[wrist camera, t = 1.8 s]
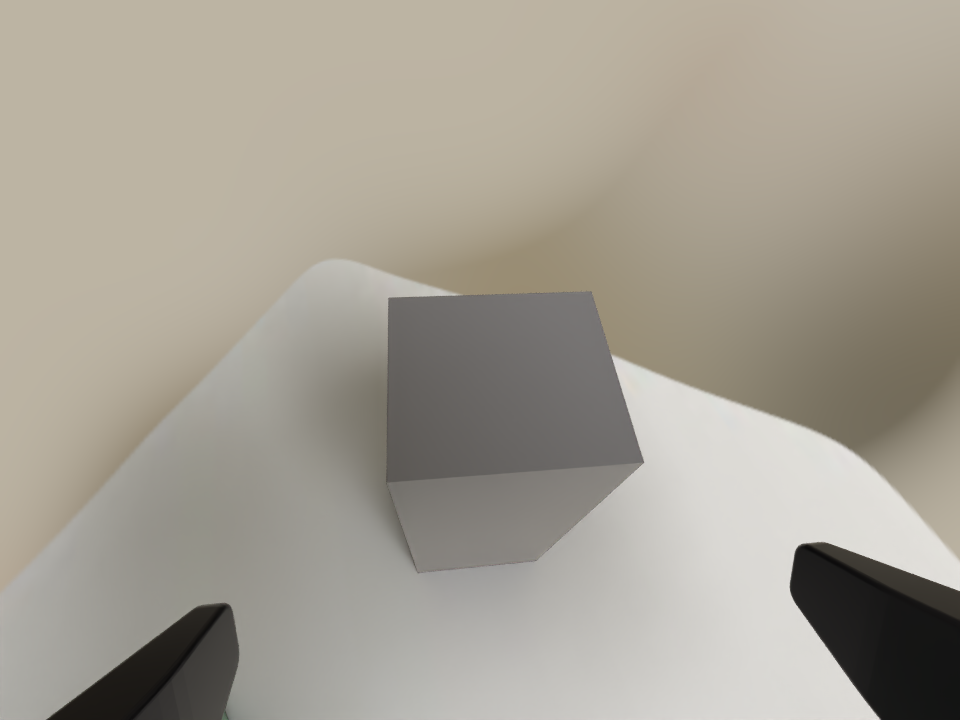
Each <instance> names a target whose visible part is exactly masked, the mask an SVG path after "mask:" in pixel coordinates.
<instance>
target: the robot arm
mask: <svg viewBox="0 0 960 720" xmlns="http://www.w3.org/2000/svg"><path fill="white" fill-rule="evenodd" d="M790 592H791V595H792V598H793V600H794V602H795V603H796V605H797V606H798V608H799V609H800V610H801V612H802V613H803V615H804V616H805V617H806V619H807V620H808V622H809V623H810V624H811V626H812V627H813V629H814V630H815V631H816V633H817V634H818V636H819V637H820V639H821V640H822V641H823V643H824V644H825V646H826V647H827V648H828V650H829V651H830V653H831V654H832V655H833V657H834V658H835V660H836V661H837V662H838V664H839V665H840V667H841V668H842V669H843V671H844V672H845V674H846V675H847V676H848V678H849V679H850V681H851V682H852V683H853V685H854V686H855V687H856V689H857V690H858V691H859V693H860V694H861V696H862V697H863V698H864V700H865V701H866V702H867V703H868V705H869V706H870V707H871V708H872V710H873V711H874V712H875V713H876V715H877V716H878V717H879V718H880V720H960V591H958V590H955V589H952V588H950V587H947V586H944V585H941V584H939V583H936V582H933V581H930V580H928V579H925V578H922V577H920V576H917V575H914V574H911V573H909V572H906V571H903V570H900V569H898V568H895V567H892V566H889V565H887V564H884V563H881V562H878V561H876V560H873V559H870V558H867V557H865V556H862V555H859V554H857V553H854V552H851V551H848V550H846V549H843V548H840V547H837V546H835V545H832V544H829V543H825V542H815V543H806V544H801V545H799V546H798V547H797V549H796V551H795V555H794V561H793V567H792V574H791V580H790ZM238 662H239V645H238V639H237V633H236V627H235V621H234V616H233V611H232V608H231V606H230V605H229V604H227V603H218V604H208V605H201V606H198V607H196V608H194V609H193V610H192V611H190V612H189V613H188V614H186V615H185V616H184V617H182V618H181V619H180V620H178V621H177V622H176V623H174V624H173V625H172V626H170V627H169V628H168V629H166V630H165V631H164V632H162V633H161V634H160V635H158V636H157V637H156V638H154V639H153V640H152V641H150V642H149V643H148V644H146V645H145V646H144V647H142V648H141V649H140V650H138V651H137V652H136V653H134V654H133V655H132V656H130V657H129V658H128V659H126V660H125V661H124V662H122V663H121V664H120V665H118V666H117V667H116V668H114V669H113V670H112V671H110V672H109V673H108V674H106V675H105V676H104V677H102V678H101V679H100V680H98V681H97V682H96V683H94V684H93V685H92V686H90V687H89V688H88V689H86V690H85V691H84V692H82V693H81V694H80V695H78V696H77V697H76V698H74V699H73V700H72V701H70V702H69V703H68V704H66V705H65V706H64V707H63V708H61V709H60V710H59V711H57V712H56V713H55V714H53V715H52V716H51V717H49V718H48V719H47V720H222V717H223V714H224V711H225V707H226V704H227V701H228V697H229V694H230V691H231V687H232V684H233V681H234V677H235V674H236V671H237V667H238Z"/></svg>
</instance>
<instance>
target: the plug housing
mask: <svg viewBox="0 0 960 720" xmlns="http://www.w3.org/2000/svg"><path fill="white" fill-rule="evenodd" d="M643 463H644V461H643V458H642V454H641V451H640V448H639V445H638V441H637V438H636V435H635V432H634V428H633V425H632V422H631V419H630V415H629V412H628V409H627V406H626V402H625V399H624V396H623V393H622V389H621V386H620V383H619V380H618V376H617V373H616V370H615V367H614V363H613V360H612V357H611V354H610V350H609V347H608V344H607V341H606V337H605V334H604V331H603V328H602V324H601V321H600V318H599V315H598V311H597V308H596V305H595V302H594V298H593V295H592V292H561V293H528V294H495V295H463V296H431V297H399V298H389V301H388V394H387V485H388V488H389V491H390V494H391V497H392V500H393V503H394V506H395V508H396V511H397V514H398V517H399V520H400V523H401V526H402V529H403V531H404V534H405V537H406V540H407V543H408V546H409V549H410V552H411V554H412V557H413V560H414V563H415V566H416V569H417V572H418V573H421V572H431V571H441V570H451V569H461V568H471V567H481V566H491V565H501V564H510V563H520V562H530V561H536V560H537V559H538V558H539V557H541V556H542V555H543V554H544V553H545V552H546V551H547V550H548V549H549V548H551V547H552V546H553V545H554V544H555V543H556V542H557V541H558V540H559V539H560V538H562V537H563V536H564V535H565V534H566V533H567V532H568V531H569V530H570V529H571V528H573V527H574V526H575V525H576V524H577V523H578V522H579V521H580V520H581V519H582V518H584V517H585V516H586V515H587V514H588V513H589V512H590V511H591V510H592V509H594V508H595V507H596V506H597V505H598V504H599V503H600V502H601V501H602V500H603V499H605V498H606V497H607V496H608V495H609V494H610V493H611V492H612V491H613V490H614V489H616V488H617V487H618V486H619V485H620V484H621V483H622V482H623V481H624V480H625V479H627V478H628V477H629V476H630V475H631V474H632V473H633V472H634V471H635V470H637V469H638V468H639V467H640V466H641V465H642V464H643Z"/></svg>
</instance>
